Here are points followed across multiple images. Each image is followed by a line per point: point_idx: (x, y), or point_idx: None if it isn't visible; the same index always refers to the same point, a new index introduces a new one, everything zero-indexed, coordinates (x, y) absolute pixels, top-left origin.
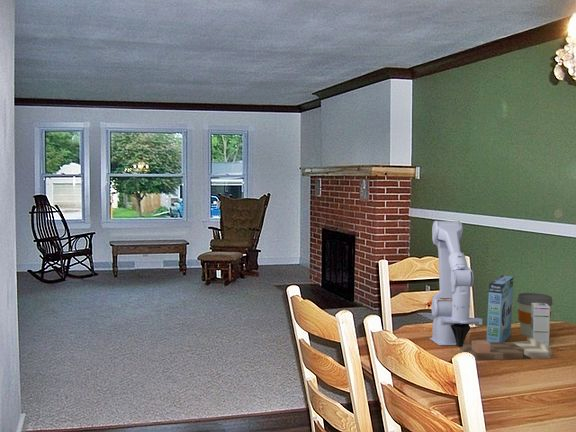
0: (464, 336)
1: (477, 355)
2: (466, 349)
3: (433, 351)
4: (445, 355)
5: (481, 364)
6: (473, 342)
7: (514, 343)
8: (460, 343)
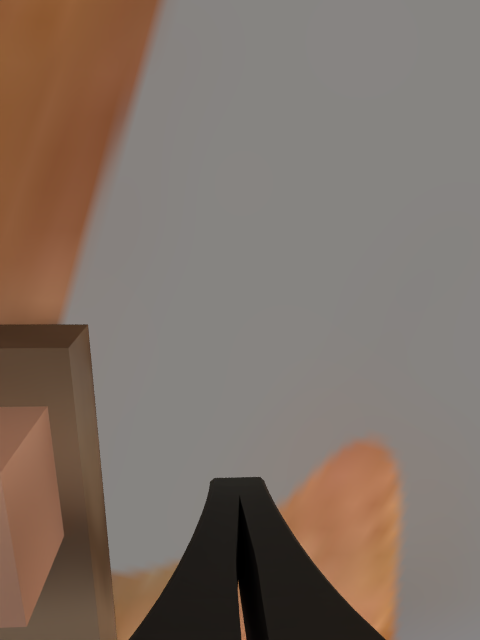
0: (200, 578)
1: (70, 343)
2: (100, 571)
3: (377, 596)
4: (331, 493)
5: (93, 181)
6: (24, 571)
7: None
8: (252, 501)
